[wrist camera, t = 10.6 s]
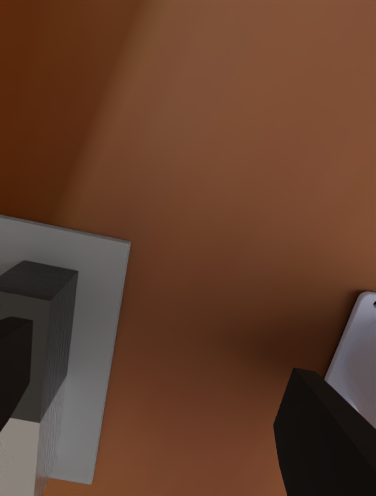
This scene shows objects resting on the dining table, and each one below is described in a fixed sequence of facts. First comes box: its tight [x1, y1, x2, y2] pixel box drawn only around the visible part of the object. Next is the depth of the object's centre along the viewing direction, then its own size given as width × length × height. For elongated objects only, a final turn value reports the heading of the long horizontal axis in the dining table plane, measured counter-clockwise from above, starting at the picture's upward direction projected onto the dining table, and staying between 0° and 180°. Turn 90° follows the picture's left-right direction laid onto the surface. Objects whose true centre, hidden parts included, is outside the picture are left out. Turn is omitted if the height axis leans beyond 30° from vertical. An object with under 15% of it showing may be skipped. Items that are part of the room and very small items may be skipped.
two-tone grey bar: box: [0, 260, 79, 496], centre depth 18 cm, size 3×14×4 cm, turn 168°
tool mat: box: [0, 215, 131, 485], centre depth 20 cm, size 8×18×1 cm, turn 168°
